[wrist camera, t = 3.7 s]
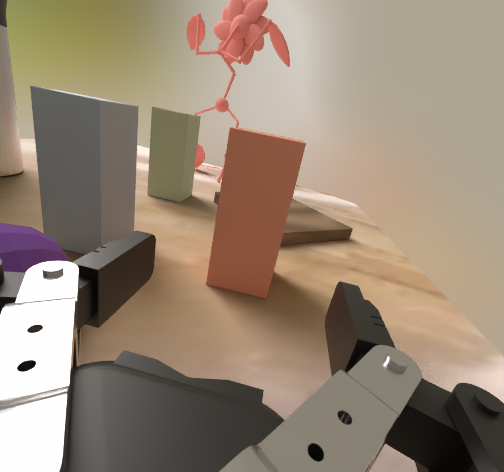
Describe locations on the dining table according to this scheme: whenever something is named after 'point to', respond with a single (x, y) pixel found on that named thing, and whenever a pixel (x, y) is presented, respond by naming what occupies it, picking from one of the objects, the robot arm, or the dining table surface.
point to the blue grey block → (85, 167)
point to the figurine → (237, 43)
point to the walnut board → (309, 225)
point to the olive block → (172, 154)
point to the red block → (253, 209)
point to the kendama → (27, 248)
